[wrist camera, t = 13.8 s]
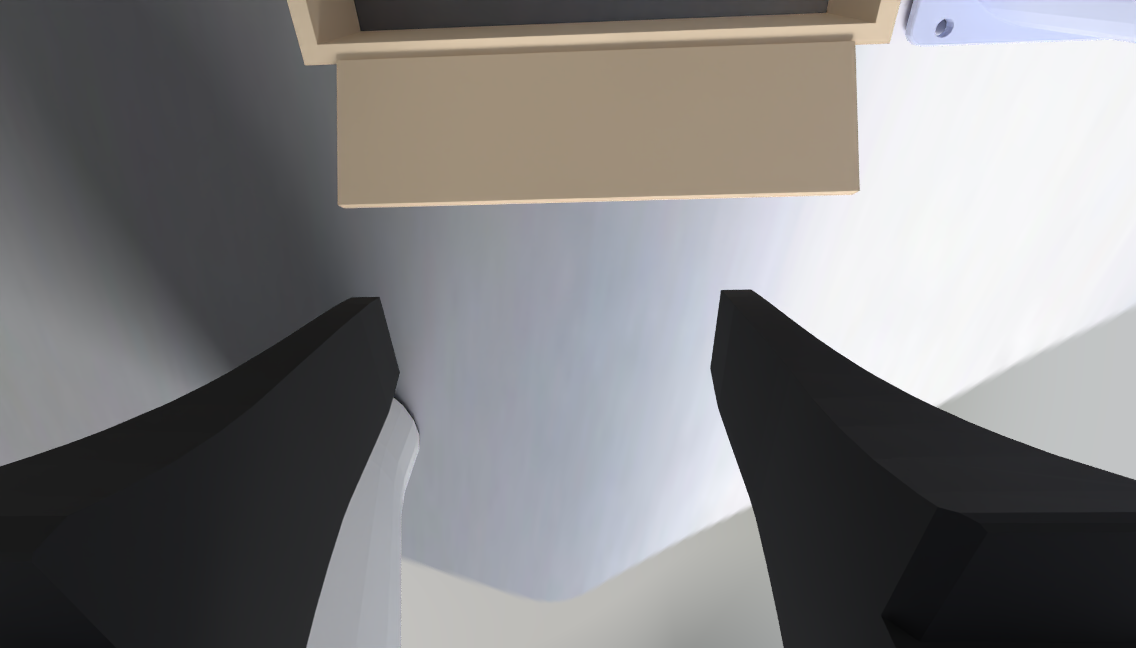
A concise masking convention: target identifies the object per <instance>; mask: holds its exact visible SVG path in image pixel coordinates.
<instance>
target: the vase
mask: <svg viewBox="0 0 1136 648" xmlns="http://www.w3.org/2000/svg"><path fill="white" fill-rule="evenodd" d="M418 452H419V433H418V430H417V428H416V425H415V422H414V420H413V418H412V417H411V416H410V414H409V413H408V412H407V410H406V409H405V408H404V406H403V405H402V404H401V403H399V402H398V401H397V400H396V399H395V398H394V397H393V400H392V404H391V407H390V411H389V413H388V416H387V418H386V421H385V423H384V425H383V428H382V430H381V432H380V435H379V437H378V439H377V442H376V444H375V446H374V448H373V451H372V453H371V455H370V457H369V460H368V462H367V464H366V466H365V469H364V471H363V473H362V475H361V478H360V480H359V482H358V484H357V487H356V489H355V491H354V493H353V496H352V498H351V500H350V503H349V506H348V508H347V511H346V513H345V516H344V518H343V521H342V524H341V528H340V531H339V534H338V537H337V540H336V543H335V547H334V550H333V553H332V556H331V559H330V562H329V566H328V569H327V573H326V576H325V580H324V583H323V587H322V590H321V594H320V597H319V601H318V604H317V608H316V611H315V615H314V619H313V623H312V627H311V631H310V635H309V639H308V643H307V647H306V648H401V514H402V508H403V501H404V494H405V490H406V487H407V484H408V481H409V478H410V475H411V472H412V469H413V466H414V463H415V461H416V458H417V455H418Z"/></svg>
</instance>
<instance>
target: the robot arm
mask: <svg viewBox="0 0 1136 648" xmlns="http://www.w3.org/2000/svg"><path fill="white" fill-rule="evenodd" d="M943 19H945V20H946V21H947V25H946V28H945V30H944V32H942V33H941V34H940V35H938V36H937V35H936V33H935V32H936V27H937V25H938V23H939V22H941V21H942V20H943ZM905 35H906V38H907V41H908V42H910V43H911V44H913V45H917V46H948V45H975V44H1002V43H1029V42H1056V41H1083V40H1109V39H1111V40H1118V41H1125V42H1132V43H1136V0H914V1H913V4H912V8H911V12H910V15H909V19H908V23H907V27H906V34H905ZM710 369H711V374H712V379H713V385H714V390H715V395H716V400H717V404H718V409H719V412H720V415H721V418H722V421H723V423H724V426H725V429H726V432H727V435H728V438H729V441H730V444H731V446H732V449H733V452H734V455H735V458H736V461H737V463H738V466H739V469H740V472H741V475H742V478H743V480H744V483H745V486H746V489H747V492H748V494H749V497H750V501H751V504H752V507H753V511H754V514H755V517H756V521H757V525H758V529H759V534H760V538H761V542H762V547H763V551H764V555H765V559H766V564H767V569H768V573H769V577H770V582H771V587H772V592H773V596H774V601H775V606H776V610H777V615H778V620H779V625H780V631H781V636H782V641H783V646H784V648H1136V480H1134V479H1130V478H1127V477H1124V476H1121V475H1117V474H1114V473H1111V472H1108V471H1105V470H1102V469H1098V468H1095V467H1092V466H1089V465H1086V464H1082V463H1079V462H1076V461H1073V460H1069V459H1066V458H1063V457H1059V456H1057V455H1054V454H1051V453H1048V452H1045V451H1043V450H1040V449H1037V448H1034V447H1032V446H1029V445H1027V444H1024V443H1021V442H1018V441H1016V440H1013V439H1010V438H1007V437H1005V436H1002V435H1000V434H997V433H995V432H992V431H990V430H987V429H985V428H982V427H980V426H977V425H975V424H973V423H970V422H968V421H965V420H963V419H961V418H959V417H957V416H955V415H952V414H950V413H948V412H946V411H943V410H941V409H939V408H937V407H935V406H932V405H930V404H928V403H926V402H924V401H922V400H920V399H918V398H916V397H914V396H912V395H910V394H908V393H906V392H904V391H902V390H901V389H899V388H897V387H895V386H893V385H891V384H889V383H888V382H886V381H884V380H882V379H880V378H878V377H877V376H875V375H873V374H871V373H870V372H868V371H866V370H865V369H863V368H861V367H860V366H858V365H857V364H855V363H853V362H852V361H850V360H849V359H847V358H846V357H844V356H843V355H841V354H839V353H838V352H836V351H835V350H833V349H832V348H830V347H829V346H827V345H826V344H825V343H823V342H822V341H820V340H819V339H817V338H816V337H815V336H813V335H812V334H810V333H809V332H808V331H806V330H805V329H804V328H802V327H801V326H799V325H798V324H797V323H795V322H794V321H793V320H791V319H790V318H789V317H788V316H786V315H785V314H784V313H782V312H781V311H780V310H778V309H777V308H776V307H774V306H773V305H772V304H771V303H769V302H768V301H767V300H765V299H764V298H763V297H761V296H760V295H758V294H757V293H755V292H754V291H752V290H721V295H720V302H719V309H718V317H717V324H716V331H715V338H714V346H713V353H712V360H711V368H710ZM399 373H400V372H399V368H398V365H397V361H396V357H395V353H394V349H393V346H392V342H391V338H390V334H389V331H388V327H387V323H386V319H385V316H384V312H383V308H382V304H381V301H380V297H355V298H350V299H348V300H346V301H344V302H342V303H340V304H338V305H337V306H335V307H333V308H332V309H330V310H328V311H327V312H325V313H324V314H322V315H321V316H319V317H317V318H316V319H314V320H313V321H311V322H310V323H308V324H307V325H305V326H304V327H302V328H300V329H299V330H297V331H296V332H294V333H293V334H291V335H290V336H288V337H286V338H285V339H283V340H282V341H280V342H279V343H277V344H276V345H274V346H272V347H271V348H269V349H267V350H266V351H264V352H262V353H261V354H259V355H257V356H255V357H254V358H252V359H250V360H249V361H247V362H245V363H244V364H242V365H240V366H239V367H237V368H235V369H234V370H232V371H230V372H228V373H227V374H225V375H223V376H221V377H219V378H218V379H216V380H214V381H212V382H210V383H208V384H206V385H204V386H202V387H200V388H198V389H196V390H194V391H192V392H190V393H188V394H186V395H184V396H182V397H180V398H178V399H176V400H174V401H172V402H170V403H167V404H165V405H163V406H161V407H158V408H156V409H154V410H151V411H149V412H147V413H144V414H142V415H139V416H137V417H135V418H132V419H130V420H128V421H125V422H123V423H121V424H118V425H116V426H114V427H111V428H109V429H106V430H104V431H101V432H99V433H96V434H93V435H91V436H88V437H85V438H83V439H80V440H77V441H74V442H72V443H69V444H66V445H63V446H60V447H58V448H55V449H52V450H49V451H46V452H43V453H40V454H37V455H34V456H31V457H28V458H25V459H22V460H19V461H16V462H13V463H10V464H7V465H3V466H0V648H306V647H307V643H308V639H309V635H310V631H311V627H312V623H313V619H314V615H315V611H316V608H317V604H318V601H319V597H320V594H321V590H322V587H323V583H324V580H325V576H326V573H327V569H328V566H329V562H330V559H331V556H332V553H333V550H334V547H335V543H336V540H337V537H338V534H339V531H340V528H341V524H342V521H343V518H344V516H345V513H346V511H347V508H348V506H349V503H350V500H351V498H352V496H353V493H354V491H355V489H356V487H357V484H358V482H359V480H360V478H361V475H362V473H363V471H364V469H365V466H366V464H367V462H368V460H369V457H370V455H371V453H372V451H373V448H374V446H375V444H376V442H377V439H378V437H379V435H380V432H381V430H382V428H383V425H384V423H385V421H386V418H387V416H388V413H389V411H390V407H391V404H392V400H393V397H394V393H395V389H396V385H397V381H398V377H399Z"/></svg>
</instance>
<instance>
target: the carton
mask: <svg viewBox="0 0 1136 648" xmlns="http://www.w3.org/2000/svg"><path fill="white" fill-rule="evenodd" d="M900 1H901V0H829V1H828V6H827V11H826V13H805V14H780V15H755V16H730V17H705V18H680V19H655V20H630V21H605V22H580V23H555V24H530V25H505V26H479V27H454V28H429V29H404V30H379V31H361V30H360V26H359V21H358V16H357V12H356V7H355V3H354V0H287V2H288V6H289V10H290V13H291V17H292V20H293V24H294V28H295V31H296V35H297V38H298V42H299V46H300V49H301V53H302V56H303V60H304V64H305V65H329V64H337V179H338V205H339V206H341V207H343V208H375V207H412V206H450V205H487V204H525V203H562V202H600V201H637V200H675V199H712V198H750V197H788V196H825V195H853V194H855V193H856V192H858V191H860V188H859V155H858V121H857V88H856V54H855V45H862V44H889V43H890V40H891V36H892V32H893V28H894V24H895V20H896V16H897V13H898V9H899V5H900Z"/></svg>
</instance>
